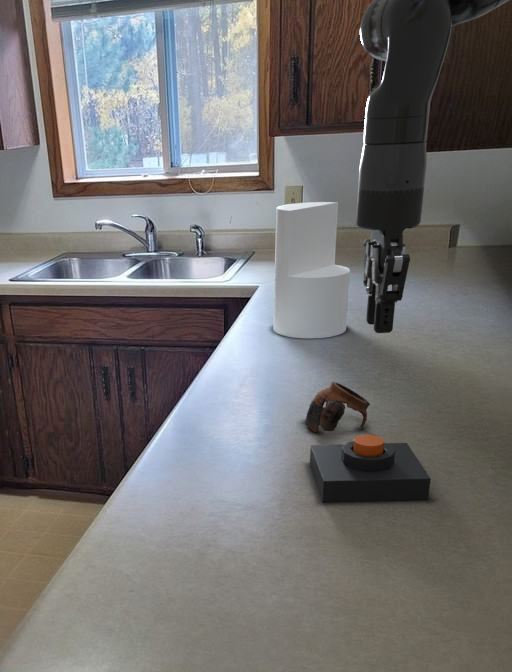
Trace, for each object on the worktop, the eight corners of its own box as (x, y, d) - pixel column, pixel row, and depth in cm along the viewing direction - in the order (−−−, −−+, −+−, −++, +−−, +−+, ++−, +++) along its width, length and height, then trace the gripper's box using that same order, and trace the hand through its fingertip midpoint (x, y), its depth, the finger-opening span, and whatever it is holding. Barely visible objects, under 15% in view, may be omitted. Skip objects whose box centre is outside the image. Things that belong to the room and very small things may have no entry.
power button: (379, 445, 104) (380, 434, 104) (386, 457, 101) (387, 445, 100) (350, 446, 105) (351, 435, 104) (356, 458, 101) (357, 446, 100)
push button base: (404, 462, 110) (408, 431, 107) (428, 499, 99) (432, 466, 97) (309, 464, 110) (311, 433, 108) (322, 502, 100) (324, 469, 98)
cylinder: (258, 330, 180) (260, 208, 167) (303, 316, 190) (308, 200, 177) (315, 342, 168) (322, 212, 155) (360, 327, 178) (370, 203, 165)
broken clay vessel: (303, 416, 129) (329, 375, 126) (351, 445, 127) (377, 404, 125) (294, 425, 118) (321, 380, 115) (345, 456, 116) (375, 411, 113)
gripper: (441, 188, 81) (424, 341, 88) (407, 178, 93) (394, 313, 101) (372, 191, 81) (360, 344, 89) (347, 181, 94) (339, 315, 102)
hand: (378, 327), depth 95 cm, fingers open, 3 cm apart
